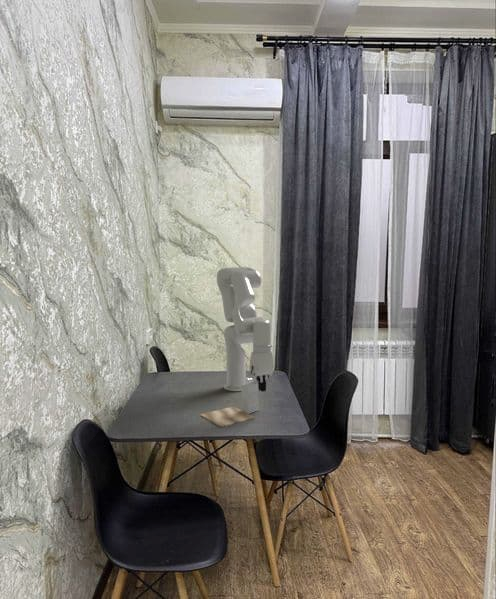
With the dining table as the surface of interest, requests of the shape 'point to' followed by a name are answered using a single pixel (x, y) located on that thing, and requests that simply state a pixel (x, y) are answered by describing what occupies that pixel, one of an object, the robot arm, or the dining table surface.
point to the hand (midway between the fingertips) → (262, 390)
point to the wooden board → (227, 416)
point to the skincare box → (249, 397)
